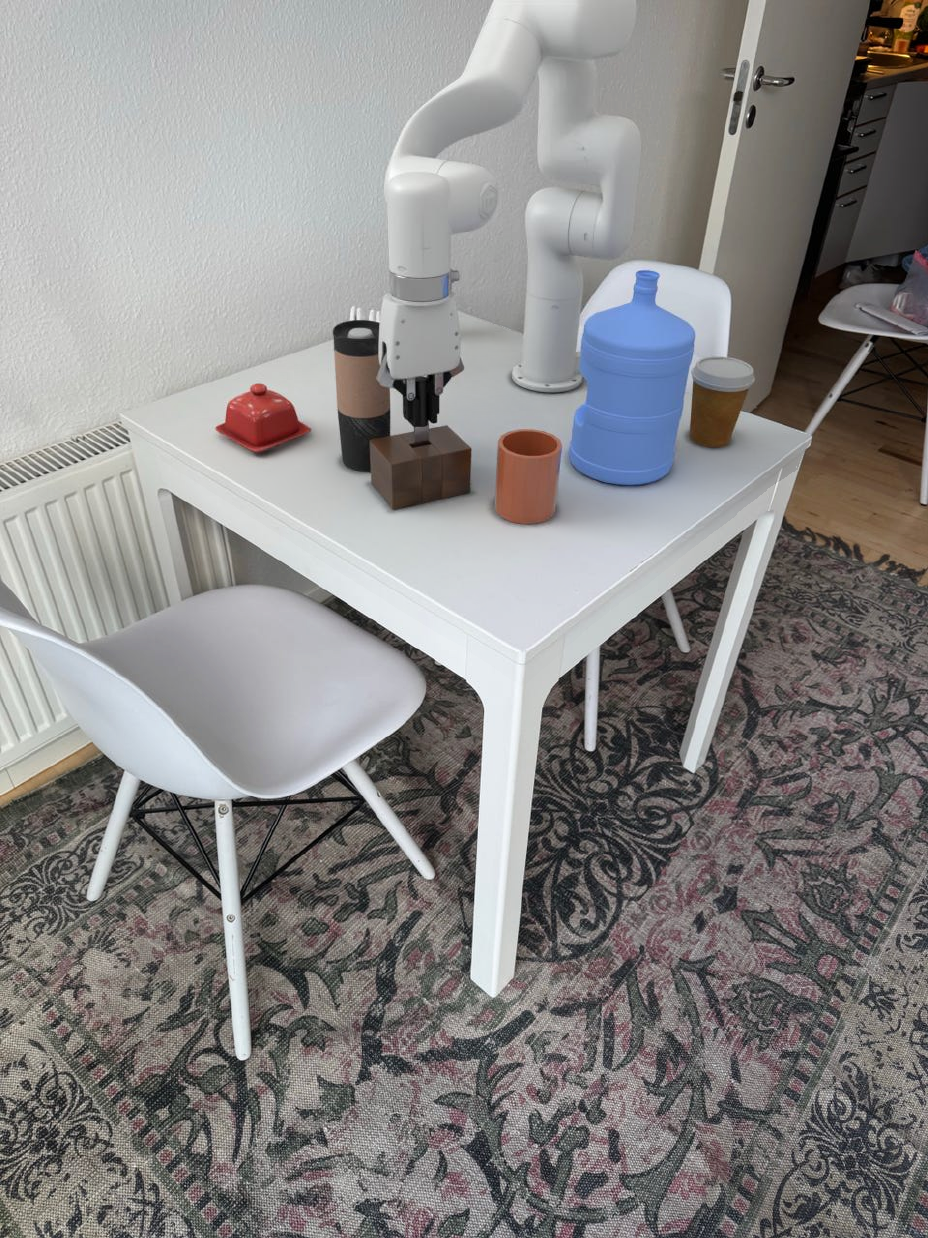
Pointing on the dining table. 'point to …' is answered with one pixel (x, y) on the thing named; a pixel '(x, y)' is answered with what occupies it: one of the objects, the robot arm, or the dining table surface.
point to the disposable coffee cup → (718, 398)
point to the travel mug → (359, 391)
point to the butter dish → (261, 419)
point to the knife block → (420, 467)
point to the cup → (527, 476)
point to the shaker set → (362, 317)
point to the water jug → (632, 389)
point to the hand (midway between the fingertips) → (421, 420)
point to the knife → (422, 412)
